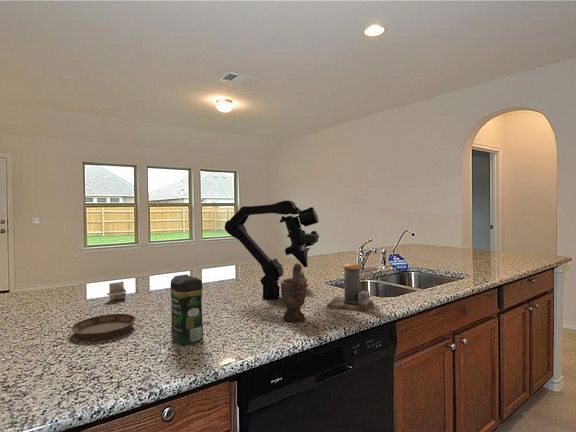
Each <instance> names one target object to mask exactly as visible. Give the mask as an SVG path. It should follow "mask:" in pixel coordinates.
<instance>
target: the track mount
mask: <svg viewBox="0 0 576 432" xmlns="http://www.w3.org/2000/svg"><path fill="white" fill-rule="evenodd" d="M372 305H373V299H370V291H368V290H367V291H366V290H361V291H359V295H358V304H352V303H344V296H343V297H341V296H334V297H333V298H332V299H331V300H330V301H329V302H328V303H327V305H326V306H327V307H326V308H327V309H336V310H346V311H347V310H348V311H355V312H367V313H368V312H369V311H370V309H371V306H372Z"/></svg>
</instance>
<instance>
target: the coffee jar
mask: <svg viewBox="0 0 576 432" xmlns="http://www.w3.org/2000/svg"><path fill="white" fill-rule="evenodd" d="M202 295H203V282H202V279H200V278H197V277H194V276H191V275H189V274H186V273H185V274H181V275H180V274H179V275H175V276H173V277H172V279H171V280H170V299H171V300H170V301H171V302H170V303H171V304H170V305H171V306H170V307H171V308H170V309H171V327H170V328H171V329H170V333H171V338H172V340H173V341H174V342H176V343H177V344H180V345H193V344H195V343H198V342H200V341H201V340H203V338H204V325H203V324H204V323H203V304H202V302H203V300H202V299H203V298H202V297H203V296H202Z"/></svg>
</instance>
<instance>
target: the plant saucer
mask: <svg viewBox="0 0 576 432" xmlns="http://www.w3.org/2000/svg"><path fill="white" fill-rule="evenodd" d="M135 321H136V316H134V315H132V314H127V313H110V314H103V315H96V316H92V317H90V318H86V319H83V320H81V321H78V322H76V323H75V324H73V325H72V326H71V327H70V328H71V329H70V330H71V331H72V332H73V334H75V336H76V337H78V338H80V339H82V340H86V339H98V340H105V339H104V338H106V339H110V338H109V337H111V338H114V336H115V337H118V336H120V334H121V335H123V334H124V332H125V333H126V332H128V331H129V330H130V329H131V328H132V326H133V325H134V324H135ZM122 333H123V334H122ZM117 335H118V336H117Z"/></svg>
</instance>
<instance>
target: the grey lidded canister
mask: <svg viewBox="0 0 576 432" xmlns="http://www.w3.org/2000/svg"><path fill="white" fill-rule="evenodd" d="M342 265H343V266H342V267H343V269H344V273H343V274H344V281H343V282H344V287H343V288H344V290H343V292H344V294H343V295H344V296H343V298H344V303H352V304H358V295H359V294H360V269H361V264H359V263H352V262H351V263H343V264H342Z"/></svg>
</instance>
